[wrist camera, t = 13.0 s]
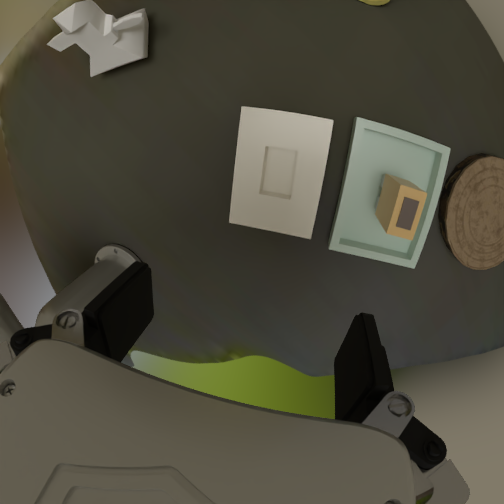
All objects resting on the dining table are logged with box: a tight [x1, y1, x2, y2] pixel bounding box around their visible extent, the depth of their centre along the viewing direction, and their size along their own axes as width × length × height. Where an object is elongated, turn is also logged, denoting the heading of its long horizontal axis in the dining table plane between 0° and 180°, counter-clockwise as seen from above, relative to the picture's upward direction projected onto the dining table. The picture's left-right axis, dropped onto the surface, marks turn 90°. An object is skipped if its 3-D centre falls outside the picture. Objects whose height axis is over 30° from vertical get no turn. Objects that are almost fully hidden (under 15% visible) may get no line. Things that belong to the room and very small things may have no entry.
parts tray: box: [328, 117, 451, 269], centre depth 29 cm, size 16×12×2 cm
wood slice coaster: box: [438, 153, 504, 270], centre depth 26 cm, size 16×16×3 cm
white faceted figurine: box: [47, 0, 149, 77], centre depth 22 cm, size 8×14×14 cm, turn 92°
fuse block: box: [229, 106, 334, 239], centre depth 31 cm, size 14×10×3 cm
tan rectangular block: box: [375, 174, 428, 240], centre depth 26 cm, size 5×3×8 cm, turn 173°
